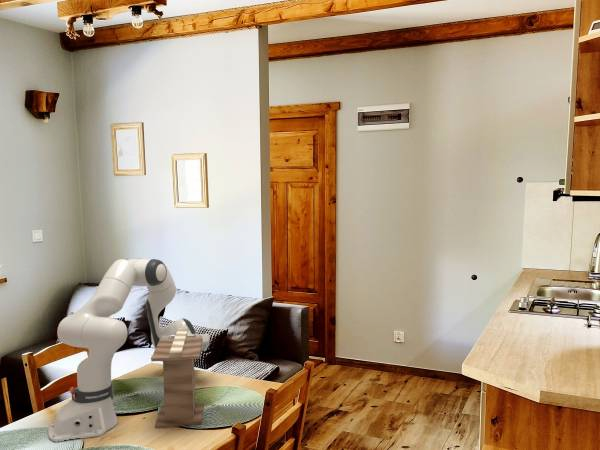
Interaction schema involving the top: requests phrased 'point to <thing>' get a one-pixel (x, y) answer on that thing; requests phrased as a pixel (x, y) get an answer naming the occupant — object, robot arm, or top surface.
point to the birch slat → (178, 343)
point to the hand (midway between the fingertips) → (183, 336)
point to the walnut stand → (179, 384)
